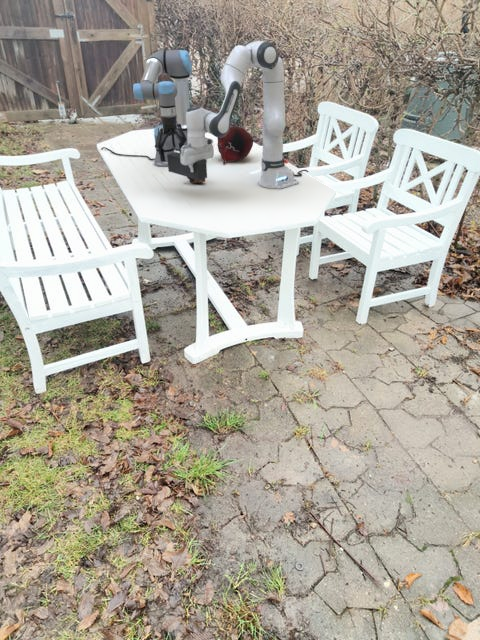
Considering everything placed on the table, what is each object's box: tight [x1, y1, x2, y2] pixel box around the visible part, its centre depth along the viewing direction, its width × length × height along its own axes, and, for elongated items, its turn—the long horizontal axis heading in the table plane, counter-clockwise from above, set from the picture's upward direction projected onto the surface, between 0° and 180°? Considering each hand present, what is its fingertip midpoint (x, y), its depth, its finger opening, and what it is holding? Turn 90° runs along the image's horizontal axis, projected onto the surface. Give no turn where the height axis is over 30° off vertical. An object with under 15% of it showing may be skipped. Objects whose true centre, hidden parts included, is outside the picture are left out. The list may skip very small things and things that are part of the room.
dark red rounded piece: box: [217, 126, 254, 165], centre depth 296 cm, size 21×24×25 cm
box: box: [167, 151, 208, 180], centre depth 236 cm, size 24×6×9 cm, turn 47°
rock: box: [186, 177, 206, 184], centre depth 259 cm, size 12×9×10 cm
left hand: (172, 158), depth 241 cm, fingers open, 13 cm apart
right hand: (198, 170), depth 231 cm, fingers closed on box, 6 cm apart
